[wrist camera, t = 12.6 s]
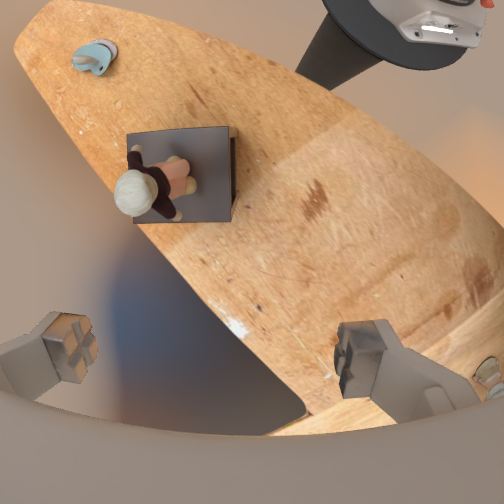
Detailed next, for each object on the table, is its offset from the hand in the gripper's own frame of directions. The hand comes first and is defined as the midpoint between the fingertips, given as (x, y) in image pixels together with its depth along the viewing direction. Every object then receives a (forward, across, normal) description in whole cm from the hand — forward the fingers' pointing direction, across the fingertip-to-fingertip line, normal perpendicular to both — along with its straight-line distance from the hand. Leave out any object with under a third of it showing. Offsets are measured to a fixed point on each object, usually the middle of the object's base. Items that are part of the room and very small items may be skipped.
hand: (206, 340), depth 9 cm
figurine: (+37, -58, +43) cm, 81 cm away
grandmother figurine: (+24, +7, -2) cm, 25 cm away
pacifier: (+37, +23, -21) cm, 49 cm away
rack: (+37, +7, -2) cm, 38 cm away
